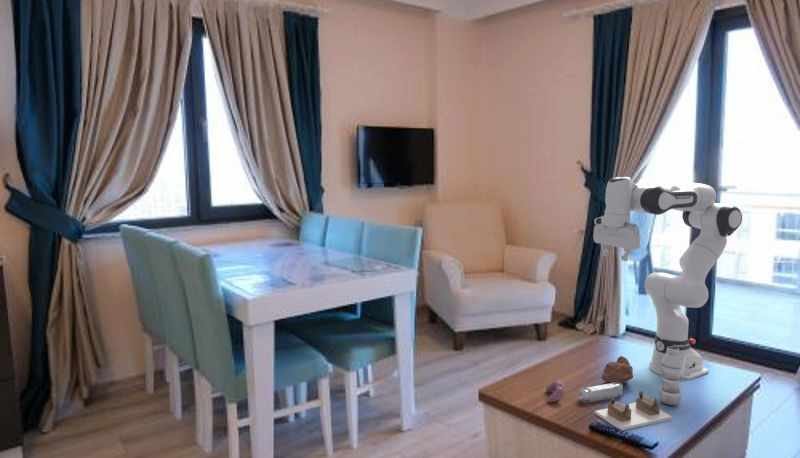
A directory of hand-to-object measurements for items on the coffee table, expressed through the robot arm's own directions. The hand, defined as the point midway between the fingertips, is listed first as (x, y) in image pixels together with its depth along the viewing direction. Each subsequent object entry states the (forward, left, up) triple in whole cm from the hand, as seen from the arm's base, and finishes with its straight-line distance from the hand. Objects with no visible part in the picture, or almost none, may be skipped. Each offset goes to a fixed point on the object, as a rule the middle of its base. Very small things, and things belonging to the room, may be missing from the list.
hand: (615, 258), depth 196 cm
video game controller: (+27, +4, -48) cm, 56 cm away
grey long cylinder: (+12, +10, -48) cm, 50 cm away
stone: (-3, +3, -48) cm, 48 cm away
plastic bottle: (-7, +22, -48) cm, 53 cm away
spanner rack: (+12, +25, -48) cm, 55 cm away
